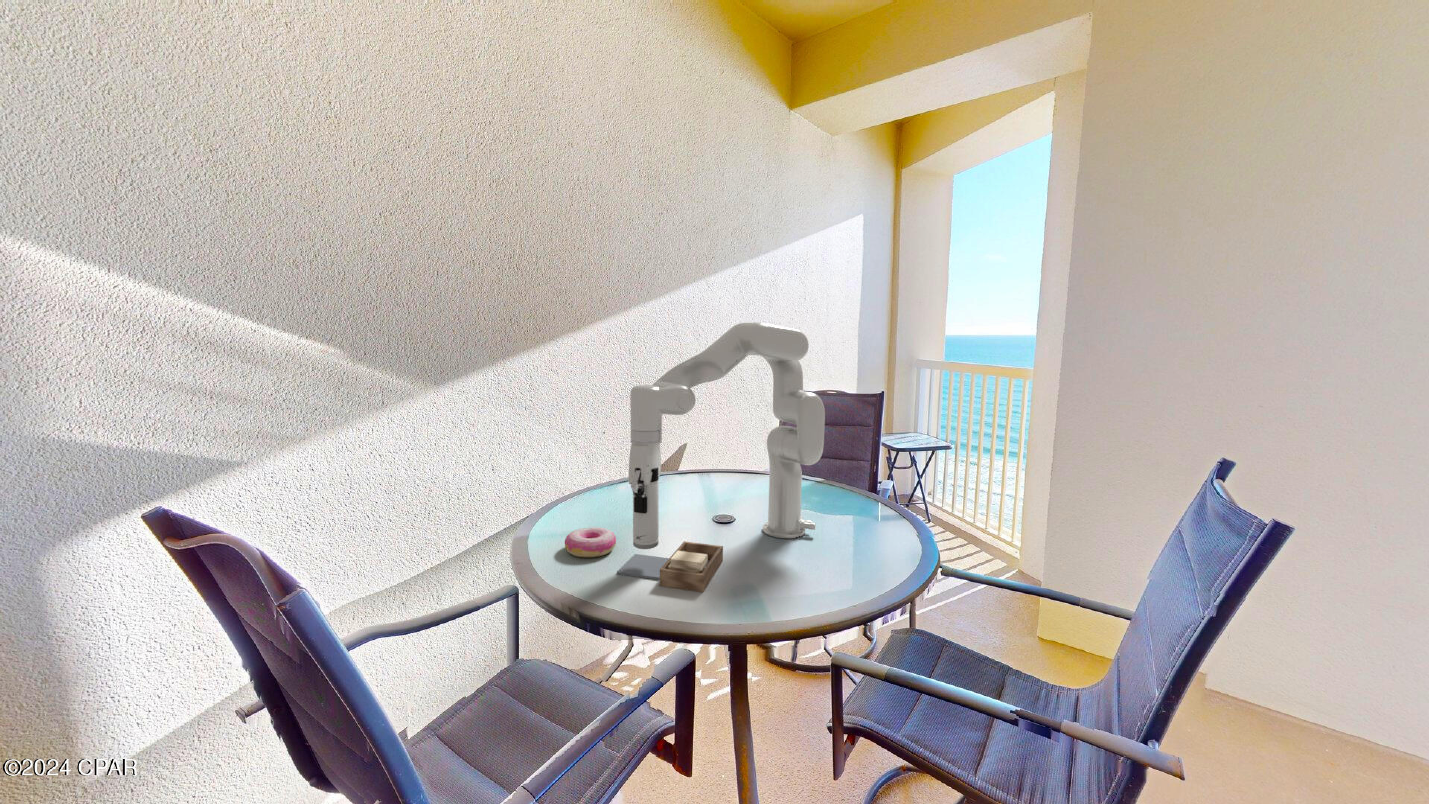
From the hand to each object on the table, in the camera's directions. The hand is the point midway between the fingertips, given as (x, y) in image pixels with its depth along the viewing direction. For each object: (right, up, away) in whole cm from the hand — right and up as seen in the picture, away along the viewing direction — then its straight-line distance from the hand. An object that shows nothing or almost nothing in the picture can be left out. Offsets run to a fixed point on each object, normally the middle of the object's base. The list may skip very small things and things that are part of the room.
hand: (646, 507), depth 132 cm
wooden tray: (+12, -16, -1) cm, 20 cm away
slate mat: (0, -15, +2) cm, 16 cm away
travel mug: (0, -10, +1) cm, 10 cm away
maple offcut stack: (+10, -17, -4) cm, 20 cm away
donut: (-16, -14, +12) cm, 25 cm away
